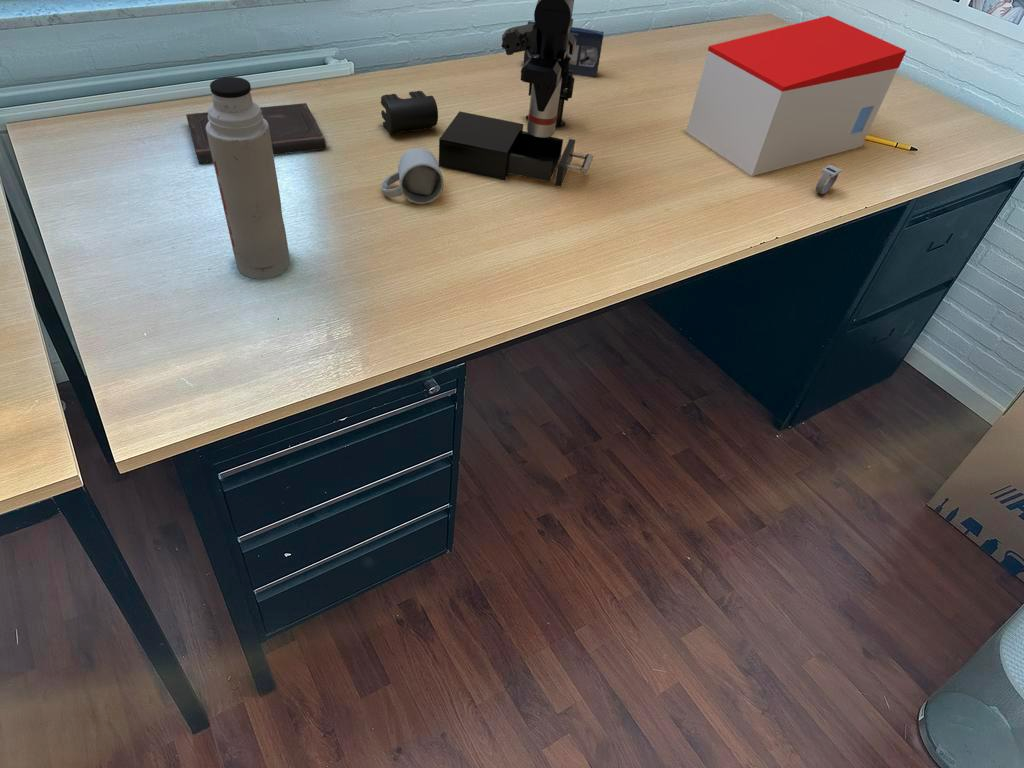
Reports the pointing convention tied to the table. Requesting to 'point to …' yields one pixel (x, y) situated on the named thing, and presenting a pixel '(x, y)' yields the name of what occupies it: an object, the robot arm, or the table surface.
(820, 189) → the wristwatch
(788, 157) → the bookstore
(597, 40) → the vhs cassette tape
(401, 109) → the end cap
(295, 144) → the hardcover book
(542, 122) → the grey metal cylinder
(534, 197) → the table surface
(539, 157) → the drawer
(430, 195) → the ceramic mug
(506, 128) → the cabinet
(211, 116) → the thermos bottle
